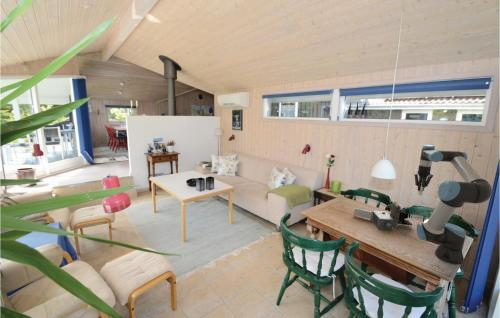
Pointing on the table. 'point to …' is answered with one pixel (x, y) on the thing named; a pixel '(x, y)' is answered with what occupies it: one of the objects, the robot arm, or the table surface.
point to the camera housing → (382, 219)
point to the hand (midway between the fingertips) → (419, 194)
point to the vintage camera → (399, 215)
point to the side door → (363, 213)
